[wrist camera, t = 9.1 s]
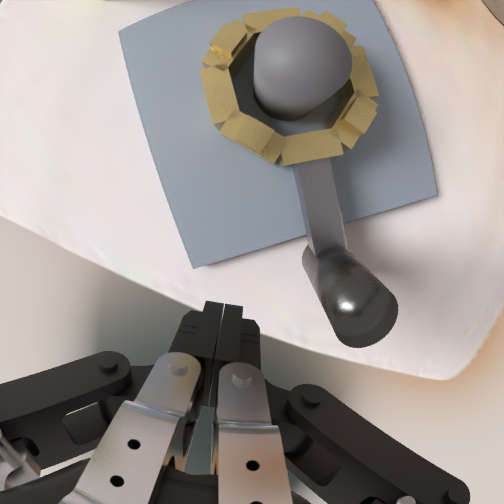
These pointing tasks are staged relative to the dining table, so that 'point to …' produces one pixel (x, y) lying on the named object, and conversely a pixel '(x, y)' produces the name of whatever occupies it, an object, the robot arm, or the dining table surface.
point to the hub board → (270, 121)
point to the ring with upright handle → (309, 171)
